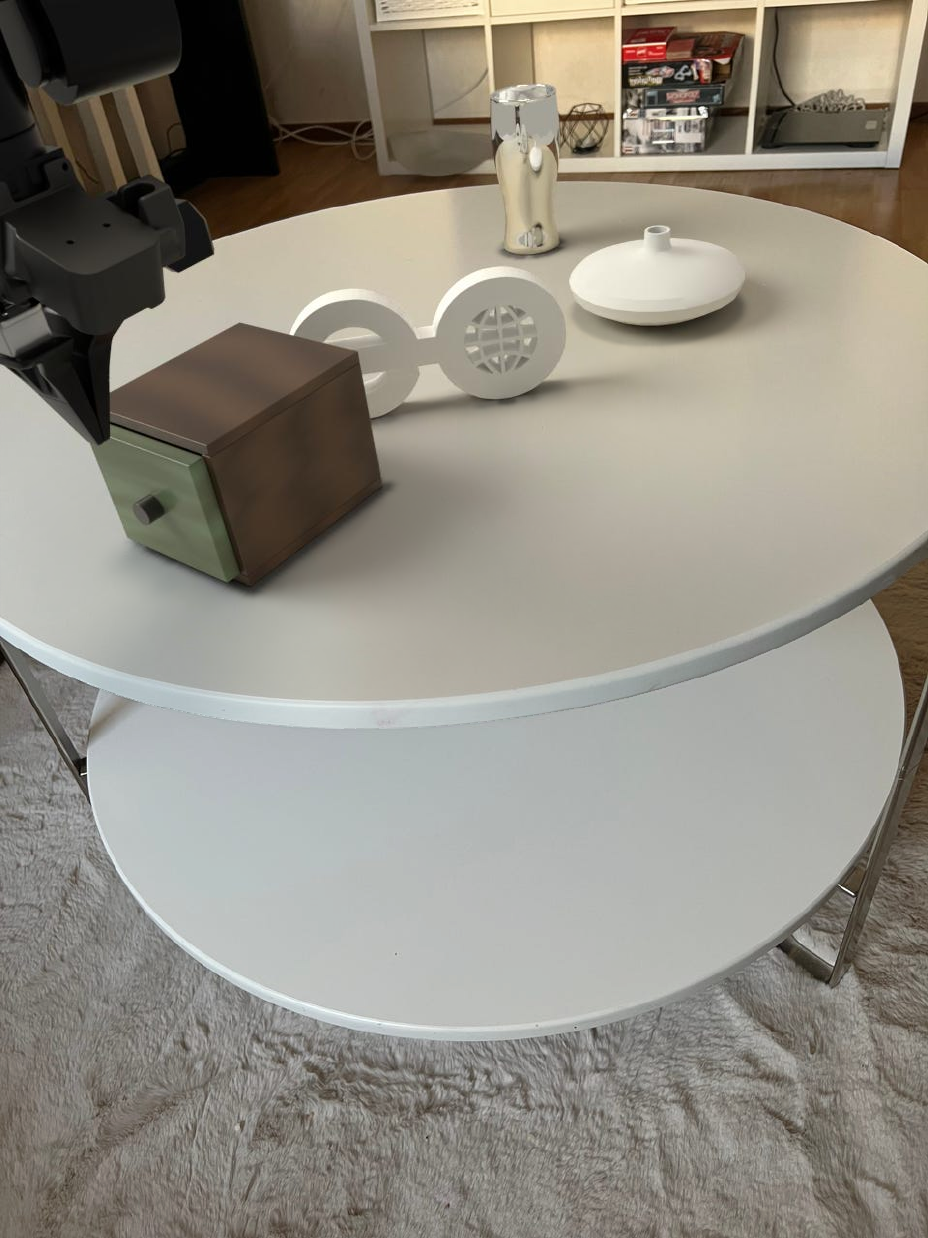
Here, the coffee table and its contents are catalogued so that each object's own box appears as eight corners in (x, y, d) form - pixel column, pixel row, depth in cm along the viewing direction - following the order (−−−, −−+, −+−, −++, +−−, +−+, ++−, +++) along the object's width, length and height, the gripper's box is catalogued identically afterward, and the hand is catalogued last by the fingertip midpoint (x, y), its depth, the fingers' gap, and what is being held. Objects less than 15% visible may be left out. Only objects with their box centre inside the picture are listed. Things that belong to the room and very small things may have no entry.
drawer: (213, 593, 62) (173, 476, 57) (113, 547, 68) (67, 435, 62) (354, 488, 70) (331, 376, 65) (254, 454, 76) (224, 347, 70)
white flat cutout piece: (562, 376, 82) (558, 257, 76) (568, 388, 80) (563, 267, 74) (303, 416, 81) (275, 299, 75) (302, 428, 80) (274, 310, 73)
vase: (620, 265, 99) (620, 192, 95) (770, 287, 91) (778, 209, 87) (538, 327, 90) (533, 250, 85) (697, 357, 82) (701, 274, 78)
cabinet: (250, 586, 64) (206, 445, 57) (139, 537, 70) (87, 404, 63) (383, 485, 72) (358, 350, 65) (272, 448, 78) (239, 321, 71)
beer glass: (543, 228, 110) (536, 79, 100) (575, 245, 105) (571, 90, 95) (488, 243, 108) (475, 93, 98) (518, 261, 103) (508, 105, 93)
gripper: (-131, 232, 34) (48, 580, 44) (245, 83, 45) (319, 391, 55) (-271, 203, 39) (-83, 517, 50) (93, 76, 50) (186, 357, 60)
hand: (99, 441), depth 53 cm, fingers closed
